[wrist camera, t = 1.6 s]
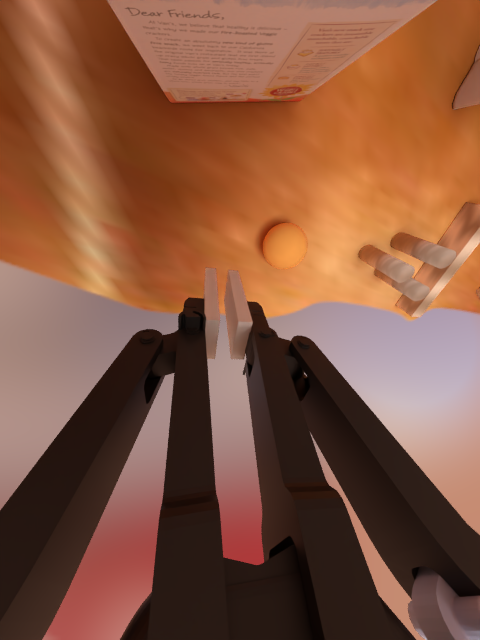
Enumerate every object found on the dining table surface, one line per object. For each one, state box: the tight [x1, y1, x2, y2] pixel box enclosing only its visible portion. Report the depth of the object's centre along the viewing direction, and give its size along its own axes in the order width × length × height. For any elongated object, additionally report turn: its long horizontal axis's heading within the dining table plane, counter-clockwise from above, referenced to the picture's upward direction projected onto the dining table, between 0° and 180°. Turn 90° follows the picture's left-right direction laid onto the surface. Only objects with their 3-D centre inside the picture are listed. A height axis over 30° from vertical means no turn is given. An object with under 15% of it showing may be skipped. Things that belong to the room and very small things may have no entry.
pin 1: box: [391, 233, 456, 269], centre depth 30 cm, size 2×2×8 cm
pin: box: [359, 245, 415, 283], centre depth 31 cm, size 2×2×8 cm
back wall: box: [396, 203, 480, 317], centre depth 35 cm, size 18×2×4 cm, turn 171°
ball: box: [263, 223, 308, 269], centre depth 29 cm, size 6×6×6 cm
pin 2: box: [374, 269, 430, 301], centre depth 33 cm, size 2×2×8 cm
